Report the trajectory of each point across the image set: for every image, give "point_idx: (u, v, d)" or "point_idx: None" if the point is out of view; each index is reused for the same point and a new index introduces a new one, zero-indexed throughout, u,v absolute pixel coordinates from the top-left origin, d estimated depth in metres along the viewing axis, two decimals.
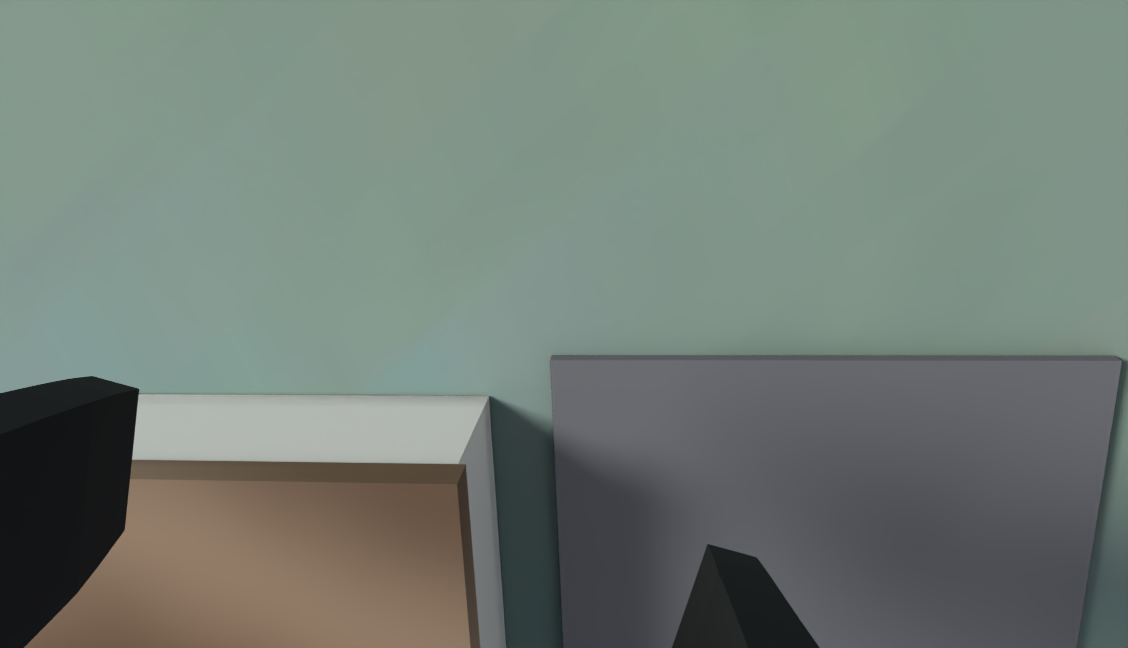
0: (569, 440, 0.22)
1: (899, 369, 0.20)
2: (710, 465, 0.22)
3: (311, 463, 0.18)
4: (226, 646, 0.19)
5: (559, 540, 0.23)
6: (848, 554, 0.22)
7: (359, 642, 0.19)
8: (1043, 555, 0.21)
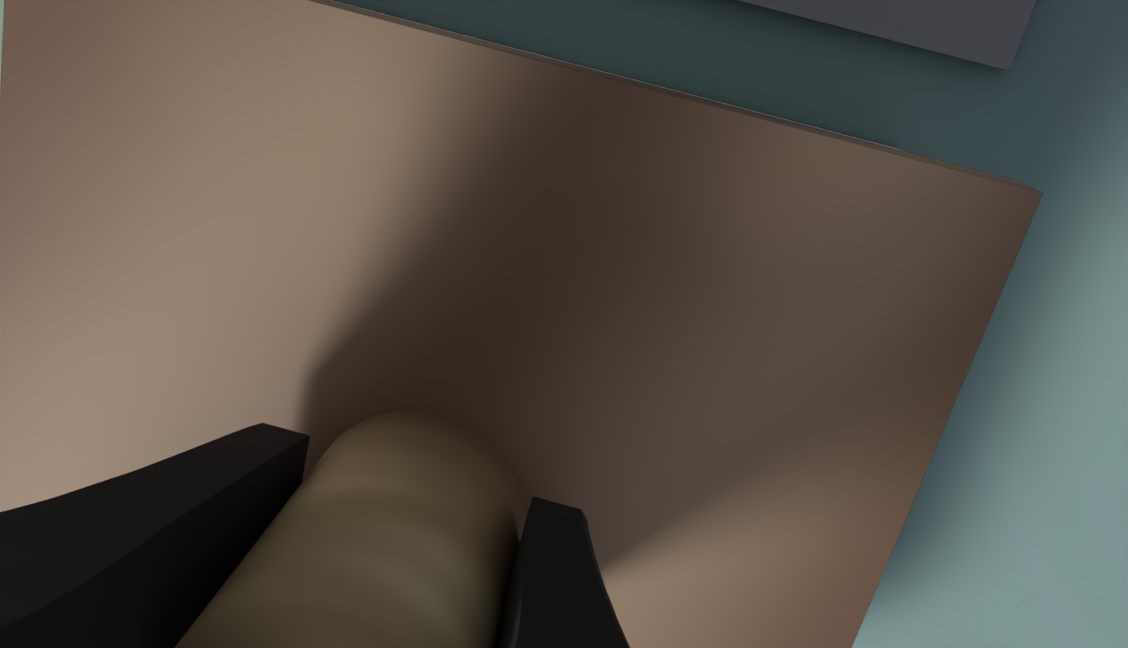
0: None
1: None
2: None
3: None
4: (269, 410, 0.12)
5: None
6: None
7: (286, 197, 0.11)
8: None
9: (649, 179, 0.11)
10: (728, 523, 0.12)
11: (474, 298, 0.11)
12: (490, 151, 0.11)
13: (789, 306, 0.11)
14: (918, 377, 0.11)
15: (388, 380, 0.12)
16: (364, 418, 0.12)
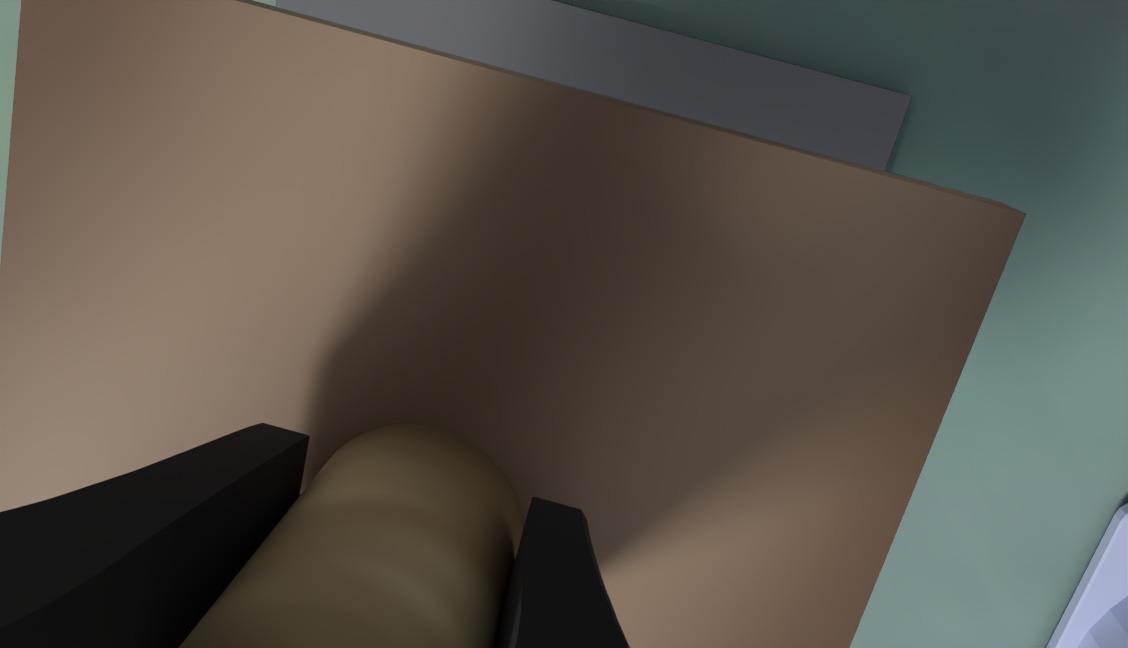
0: None
1: None
2: None
3: None
4: (270, 423, 0.12)
5: None
6: None
7: (291, 213, 0.11)
8: (498, 40, 0.20)
9: (646, 198, 0.11)
10: (721, 537, 0.12)
11: (474, 313, 0.11)
12: (491, 169, 0.11)
13: (781, 322, 0.11)
14: (906, 392, 0.11)
15: (388, 394, 0.12)
16: (363, 431, 0.12)
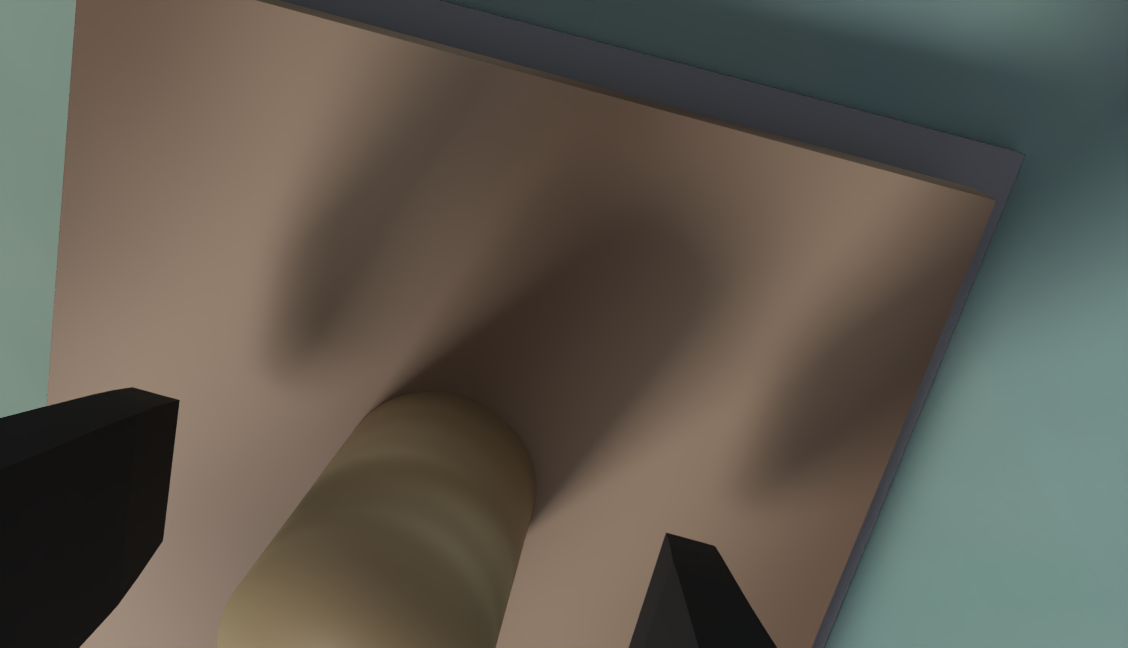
0: None
1: None
2: None
3: None
4: (305, 391, 0.13)
5: None
6: None
7: (324, 198, 0.12)
8: None
9: (648, 186, 0.12)
10: (717, 494, 0.13)
11: (491, 290, 0.13)
12: (507, 159, 0.12)
13: (772, 299, 0.12)
14: (886, 363, 0.12)
15: (412, 363, 0.13)
16: (390, 398, 0.13)
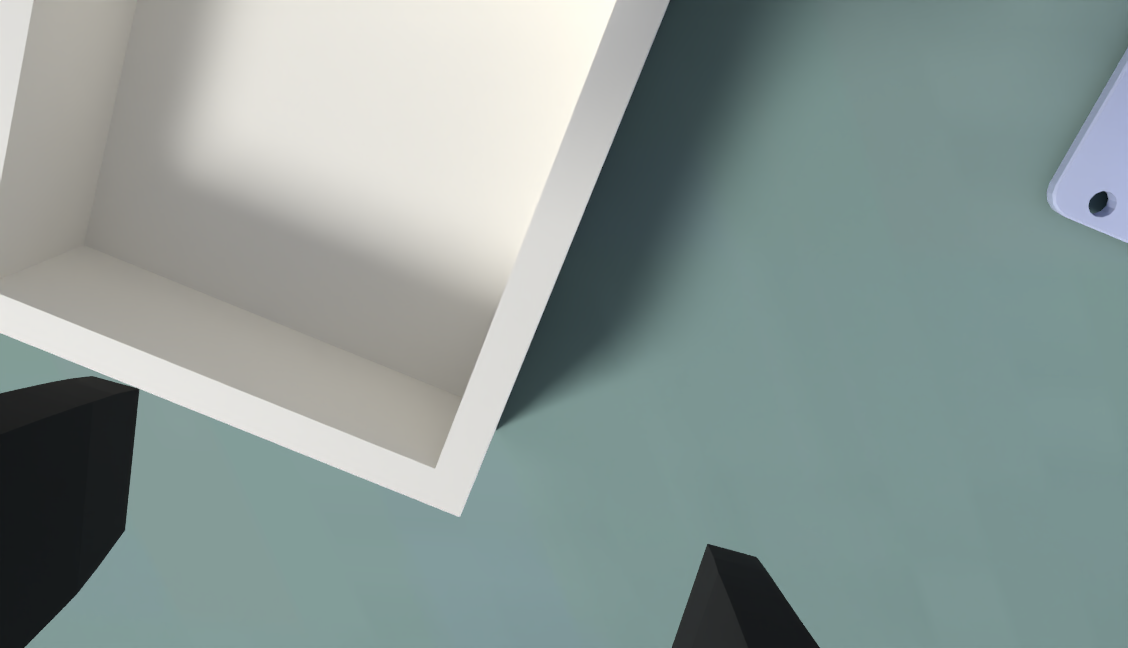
0: None
1: None
2: None
3: None
4: None
5: None
6: None
7: None
8: None
9: None
10: None
11: None
12: None
13: None
14: None
15: None
16: None
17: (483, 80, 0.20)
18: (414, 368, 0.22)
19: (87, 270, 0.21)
